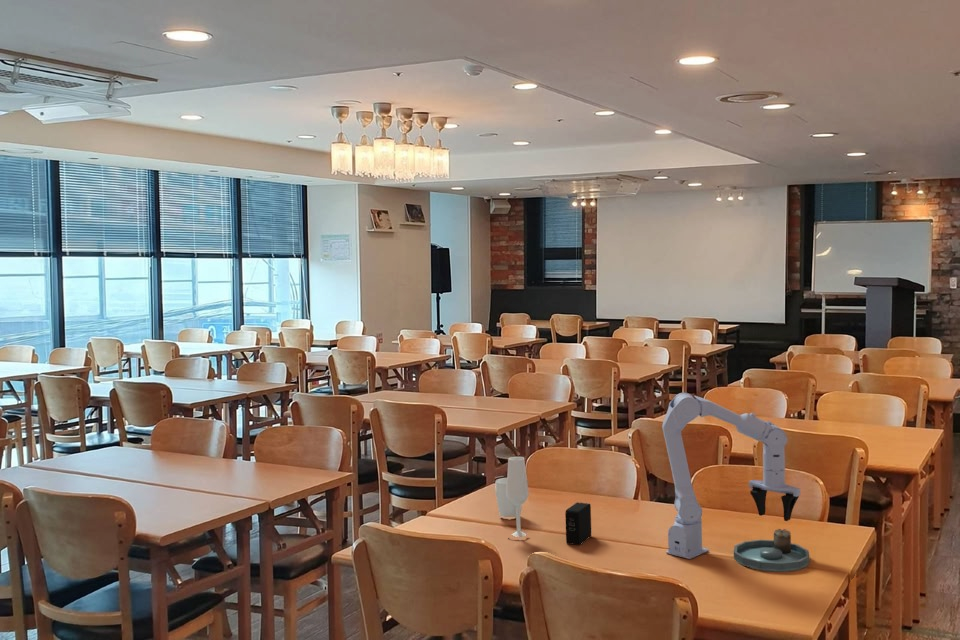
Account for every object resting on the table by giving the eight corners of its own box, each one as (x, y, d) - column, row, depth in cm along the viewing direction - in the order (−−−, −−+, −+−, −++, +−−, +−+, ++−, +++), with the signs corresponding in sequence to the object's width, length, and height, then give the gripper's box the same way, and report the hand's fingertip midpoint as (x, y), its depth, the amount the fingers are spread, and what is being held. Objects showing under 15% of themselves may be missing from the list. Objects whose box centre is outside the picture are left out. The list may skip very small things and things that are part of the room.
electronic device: (565, 544, 262) (564, 510, 262) (578, 534, 271) (577, 501, 270) (579, 545, 260) (578, 511, 260) (591, 535, 269) (590, 502, 268)
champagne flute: (534, 538, 269) (532, 458, 267) (515, 542, 265) (513, 462, 264) (521, 532, 275) (519, 454, 273) (503, 536, 271) (500, 458, 269)
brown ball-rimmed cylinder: (785, 555, 244) (785, 533, 243) (770, 551, 247) (770, 530, 247) (793, 551, 247) (793, 530, 246) (779, 547, 250) (778, 527, 250)
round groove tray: (786, 577, 229) (785, 568, 229) (720, 560, 244) (720, 552, 243) (822, 558, 242) (822, 550, 242) (757, 543, 257) (757, 535, 256)
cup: (491, 516, 293) (490, 479, 293) (516, 511, 297) (515, 476, 296) (503, 523, 285) (502, 485, 284) (529, 518, 289) (527, 481, 288)
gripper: (805, 470, 246) (806, 519, 247) (758, 462, 257) (758, 509, 258) (792, 475, 241) (793, 525, 242) (744, 467, 252) (745, 514, 253)
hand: (774, 517), depth 249 cm, fingers open, 7 cm apart
